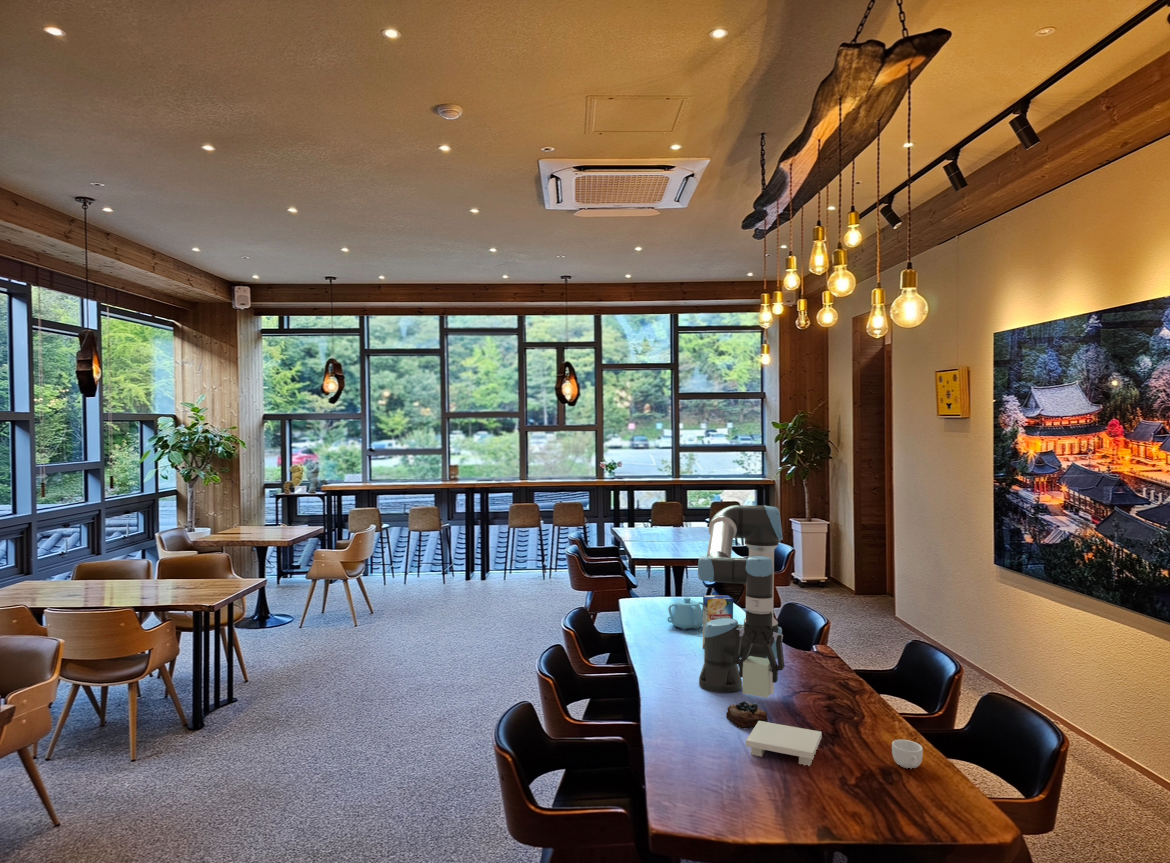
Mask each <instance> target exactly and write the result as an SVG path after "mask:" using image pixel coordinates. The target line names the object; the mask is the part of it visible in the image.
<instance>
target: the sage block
mask: <svg viewBox="0 0 1170 863" xmlns="http://www.w3.org/2000/svg"><path fill="white" fill-rule="evenodd" d="M771 669H772V668H771V665H770V662H769V659H767V658H760V657H753V656H749V657H748V658H747V659H746V660H745V661H744V662H743V678H742V687H743V690H742V694H743V695H748V696H754V697H760V698H766V699H767V698H769V697H770V695H769V671H770V670H771Z"/></svg>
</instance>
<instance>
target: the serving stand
mask: <svg viewBox="0 0 1170 863" xmlns="http://www.w3.org/2000/svg"><path fill="white" fill-rule="evenodd" d="M822 734H823V733H822V731H820V730H814V729H808V728H802V727H798V726H792V725H785V724H779V723H774V722H769V721H768V722H764V721H758V723H757V724H756V726H755V727H754V728H752V730H751V732H750V733H749V735H748V737H747V738H746V739H745V747H749V748H750V752H751V753H750V755H752V756H756V757H763V756H764V754H765V752H766V751H770V752H774V753H778V754H779V753H780V754H783V755H785V754H786V755H790V756H795V757H798V764H799V765H801V764H803V765H802V766H806V765H808V766H807V767H811V766H810V765H812V762H813V761H814V757H815V756H816V752H817V751H816V750H818V748H819V745H820V742H821V740H822V738H823V735H822ZM814 755H815V756H814ZM812 760H813V761H812Z"/></svg>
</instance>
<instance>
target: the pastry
mask: <svg viewBox="0 0 1170 863" xmlns="http://www.w3.org/2000/svg"><path fill="white" fill-rule="evenodd" d="M726 710H727V712H726V714H725V715H726V719H727V720H729V722H731V723H732V724H733V725H735V726H736V728H738V727H740V728H739V729H742V728H743V729H744V728H746V729H754V727H755V726H756V724H757V723H758V721H764V722H769V721H768V720H769V719H768V712H766V711H764V710H762V709H761V708H760V707H759V706H758V704H757V703H755V702H754V703H750V702H747V701H746V700H743V701H741V702H739V703H738V704H733V703H732V704H730V705H729V706H727V708H726Z"/></svg>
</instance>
